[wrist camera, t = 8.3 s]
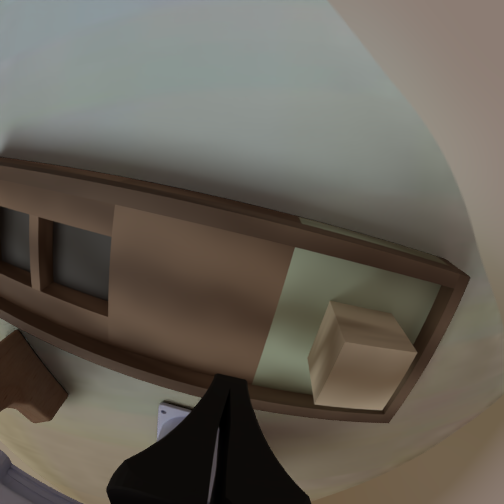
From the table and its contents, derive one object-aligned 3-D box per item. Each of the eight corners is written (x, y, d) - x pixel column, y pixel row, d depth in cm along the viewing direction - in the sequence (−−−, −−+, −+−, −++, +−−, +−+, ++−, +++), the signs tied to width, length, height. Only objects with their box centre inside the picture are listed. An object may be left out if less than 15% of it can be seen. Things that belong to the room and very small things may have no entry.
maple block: (365, 366, 20) (382, 410, 16) (307, 357, 20) (314, 404, 15) (391, 313, 18) (417, 352, 14) (329, 300, 18) (344, 341, 14)
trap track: (378, 395, 23) (388, 423, 20) (0, 290, 22) (-22, 304, 19) (445, 259, 19) (470, 277, 16) (-3, 156, 18) (-31, 160, 15)
